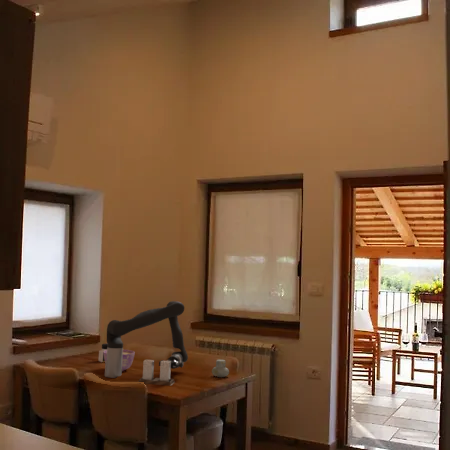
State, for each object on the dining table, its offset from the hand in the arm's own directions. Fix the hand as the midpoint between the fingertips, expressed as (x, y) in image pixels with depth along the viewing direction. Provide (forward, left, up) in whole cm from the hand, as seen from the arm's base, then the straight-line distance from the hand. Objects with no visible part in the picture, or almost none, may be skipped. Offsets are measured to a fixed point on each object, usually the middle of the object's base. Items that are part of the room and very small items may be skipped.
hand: (168, 366), depth 324 cm
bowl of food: (-37, +22, -9) cm, 44 cm away
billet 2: (0, -9, -8) cm, 12 cm away
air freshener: (+28, +25, -9) cm, 39 cm away
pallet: (-5, -9, -9) cm, 14 cm away
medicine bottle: (-54, +48, -9) cm, 73 cm away
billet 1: (-10, -9, -8) cm, 16 cm away
